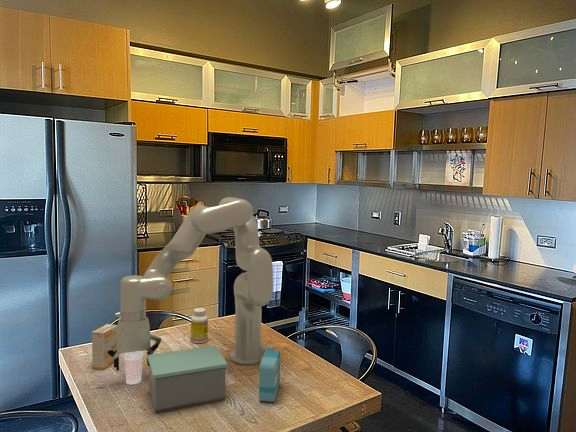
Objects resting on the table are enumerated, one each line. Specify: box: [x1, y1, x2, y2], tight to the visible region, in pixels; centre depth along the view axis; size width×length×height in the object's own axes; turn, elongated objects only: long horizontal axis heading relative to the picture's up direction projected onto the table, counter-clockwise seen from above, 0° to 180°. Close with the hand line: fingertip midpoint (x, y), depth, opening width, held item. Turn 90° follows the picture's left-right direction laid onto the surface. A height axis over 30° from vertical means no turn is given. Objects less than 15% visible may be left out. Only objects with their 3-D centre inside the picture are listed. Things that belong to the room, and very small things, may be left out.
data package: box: [258, 349, 281, 403], centre depth 133 cm, size 12×4×12 cm, turn 173°
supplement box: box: [91, 323, 118, 371], centre depth 150 cm, size 8×5×13 cm, turn 168°
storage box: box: [149, 367, 226, 414], centre depth 131 cm, size 20×14×10 cm
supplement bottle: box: [190, 307, 209, 344], centre depth 173 cm, size 7×7×13 cm
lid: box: [146, 345, 229, 379], centre depth 130 cm, size 21×15×1 cm
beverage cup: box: [123, 351, 144, 385], centre depth 138 cm, size 6×6×14 cm
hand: (133, 366), depth 139 cm, fingers open, 9 cm apart
